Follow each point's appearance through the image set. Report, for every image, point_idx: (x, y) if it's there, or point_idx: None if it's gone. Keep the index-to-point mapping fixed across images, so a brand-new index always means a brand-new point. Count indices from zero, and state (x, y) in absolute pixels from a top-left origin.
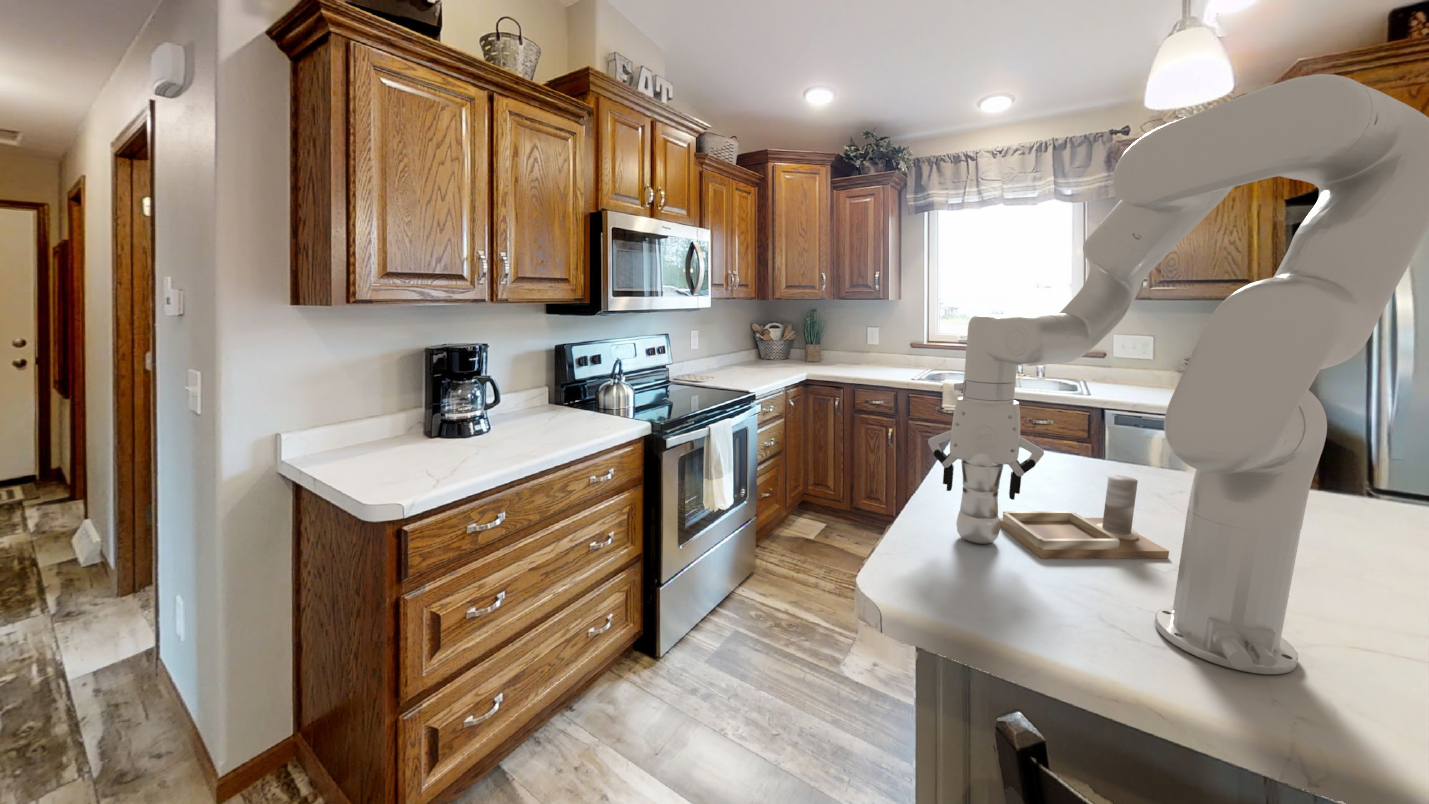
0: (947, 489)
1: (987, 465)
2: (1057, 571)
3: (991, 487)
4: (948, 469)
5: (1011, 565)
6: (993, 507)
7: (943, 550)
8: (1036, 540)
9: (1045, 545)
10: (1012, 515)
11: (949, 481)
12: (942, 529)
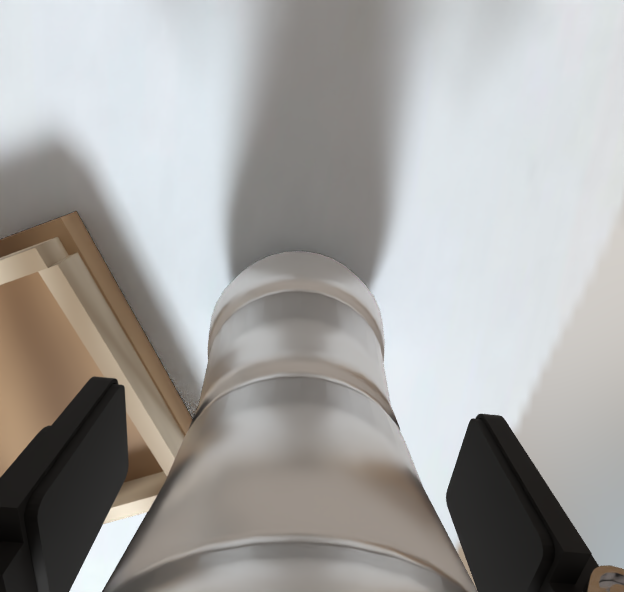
0: (498, 416)
1: (247, 561)
2: (14, 101)
3: (226, 411)
4: (581, 545)
5: (183, 101)
6: (227, 345)
7: (435, 168)
8: (71, 271)
9: (39, 244)
10: (161, 487)
11: (514, 458)
12: (408, 370)
